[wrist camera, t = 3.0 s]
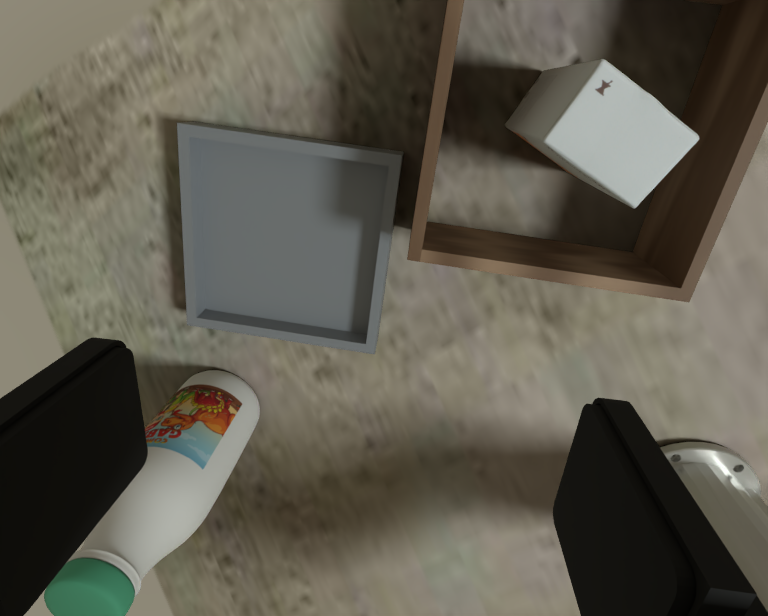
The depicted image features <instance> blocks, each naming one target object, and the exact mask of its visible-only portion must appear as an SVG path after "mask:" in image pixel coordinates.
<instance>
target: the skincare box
mask: <svg viewBox="0 0 768 616" xmlns="http://www.w3.org/2000/svg"><path fill="white" fill-rule="evenodd" d="M505 127H507V128H508V129H509V130H511V131H512V132H514V133H515V134H517V135H518V136H519V137H521V138H522V139H523V140H525V141H526V142H527V143H529V144H530V145H531V146H533V147H534V148H535V149H537V150H538V151H540V152H541V153H542V154H544V155H545V156H546V157H548V158H549V159H551V160H552V161H553V162H555V163H556V164H557V165H559V166H560V167H561V168H563V169H564V170H565V171H566V172H568V173H570V174H571V175H573V176H575V177H577V178H579V179H580V180H582V181H584V182H586V183H588V184H589V185H591V186H593V187H595V188H597V189H598V190H600V191H602V192H604V193H606V194H608V195H610V196H611V197H613V198H615V199H617V200H619V201H621V202H622V203H624V204H626V205H628V206H630V207H632V208H636V207H637V206H638V205H639V204H640V202H641V201H642V200H643V199H644V198H645V197H646V196H647V195H648V194H649V193H650V192H651V191H652V190H653V189H654V188H655V187H656V185H657V184H658V183H659V182H660V181H661V180H662V179H663V178H664V177H665V176H666V175H667V174H668V173H669V172H670V170H671V169H672V168H673V167H674V166H675V165H676V164H677V163H678V162H679V161H680V160H681V159H682V158H683V157H684V155H685V154H686V153H687V152H688V151H689V150H690V149H691V148H692V147H693V146H694V145H695V144H696V143H697V142H698V140H699V136H698V134H697V133H695V132H694V131H693V130H692V129H690V128H689V127H688V126H687V125H685V124H684V123H683V122H682V121H680V120H679V119H678V118H677V117H676V116H674V115H673V114H672V113H671V112H669V111H668V110H667V109H666V108H665V107H664V106H663V105H662V104H661V103H660V102H659V101H658V100H657V99H656V98H655V97H653V96H652V95H651V94H649V93H648V92H646V91H645V90H643V89H642V88H641V87H639V86H638V85H637V84H636V83H634V82H633V81H632V80H631V79H629V78H628V77H627V76H625V75H624V74H623V73H622V72H620V71H619V70H618V69H617V68H615V67H614V66H613V65H611V64H610V63H609V62H608V61H606V60H605V59H599V60H594V61H589V62H585V63H580V64H574V65H569V66H565V67H560V68H554V69H549V70H544V71H543V72H542V73H541V75H540V76H539V77H538V79H537V80H536V82H535V83H534V84H533V86H532V87H531V88H530V90H529V91H528V92H527V94H526V95H525V97H524V98H523V100H522V101H521V102H520V104H519V105H518V107H517V108H516V110H515V111H514V112H513V114H512V115H511V117H510V118H509V119H508V121H507V122H506V123H505Z"/></svg>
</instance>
